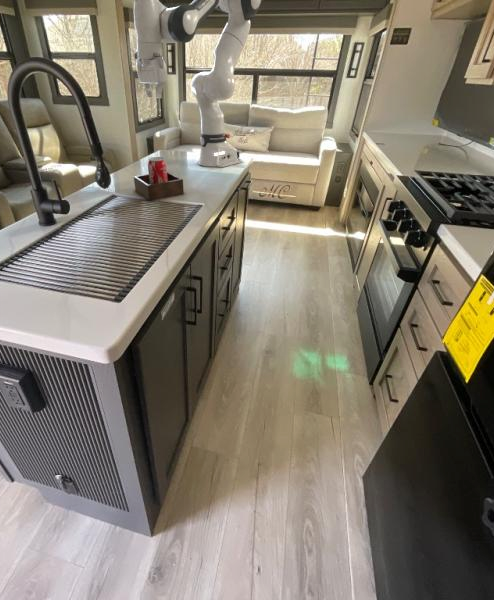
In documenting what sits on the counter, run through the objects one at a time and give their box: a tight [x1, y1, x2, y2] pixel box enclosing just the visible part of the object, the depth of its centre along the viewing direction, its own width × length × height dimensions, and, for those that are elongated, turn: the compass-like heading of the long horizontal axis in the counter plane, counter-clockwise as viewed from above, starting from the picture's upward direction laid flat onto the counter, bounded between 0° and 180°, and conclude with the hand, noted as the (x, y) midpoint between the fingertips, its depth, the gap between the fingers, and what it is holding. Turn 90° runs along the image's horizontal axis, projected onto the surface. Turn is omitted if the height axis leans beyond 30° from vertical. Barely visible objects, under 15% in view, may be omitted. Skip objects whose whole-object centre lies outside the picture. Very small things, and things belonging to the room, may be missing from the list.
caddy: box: [133, 171, 185, 201], centre depth 130 cm, size 15×15×6 cm
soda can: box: [147, 156, 168, 184], centre depth 128 cm, size 7×7×12 cm
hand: (154, 97), depth 128 cm, fingers open, 8 cm apart
